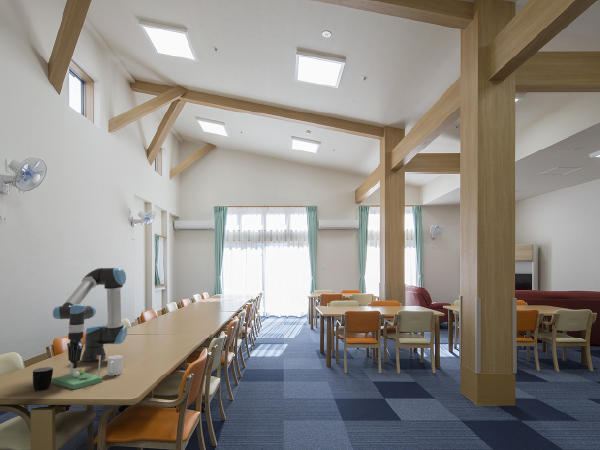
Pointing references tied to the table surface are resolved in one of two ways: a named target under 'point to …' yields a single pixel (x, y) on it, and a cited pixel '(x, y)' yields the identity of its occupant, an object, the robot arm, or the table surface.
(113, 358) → the cup
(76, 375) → the ball
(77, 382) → the green
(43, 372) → the mug
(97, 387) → the table surface
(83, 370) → the yellow ball
